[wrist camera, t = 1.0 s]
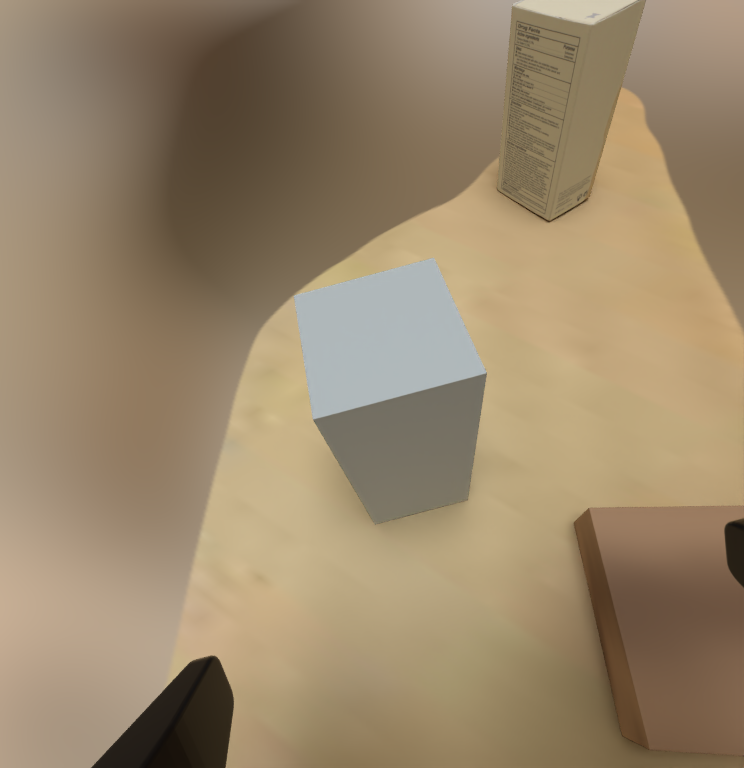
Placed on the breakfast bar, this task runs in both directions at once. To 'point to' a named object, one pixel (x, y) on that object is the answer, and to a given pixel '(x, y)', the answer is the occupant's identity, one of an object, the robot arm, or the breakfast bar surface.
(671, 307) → the breakfast bar surface
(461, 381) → the pillar
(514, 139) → the skincare box
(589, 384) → the breakfast bar surface
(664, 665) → the walnut block
